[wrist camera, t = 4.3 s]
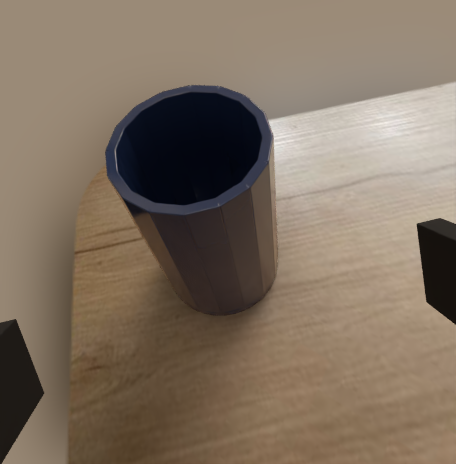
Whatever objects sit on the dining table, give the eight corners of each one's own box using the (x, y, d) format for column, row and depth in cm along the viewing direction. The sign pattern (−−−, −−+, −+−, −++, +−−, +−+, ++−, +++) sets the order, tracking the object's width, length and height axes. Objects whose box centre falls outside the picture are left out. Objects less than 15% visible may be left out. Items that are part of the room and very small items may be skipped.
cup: (177, 327, 27) (110, 233, 17) (162, 231, 31) (101, 105, 21) (290, 300, 27) (293, 188, 17) (262, 207, 31) (250, 70, 21)
